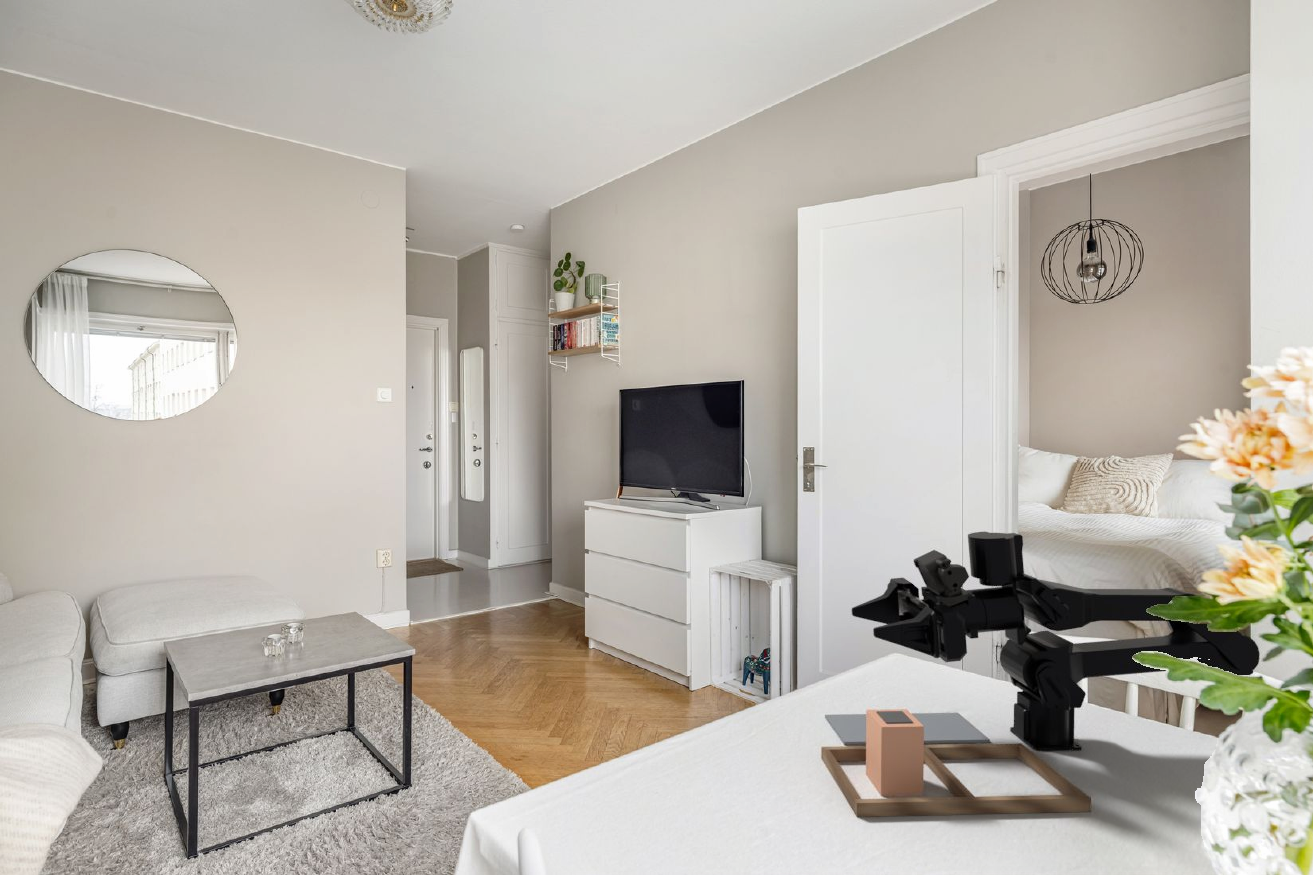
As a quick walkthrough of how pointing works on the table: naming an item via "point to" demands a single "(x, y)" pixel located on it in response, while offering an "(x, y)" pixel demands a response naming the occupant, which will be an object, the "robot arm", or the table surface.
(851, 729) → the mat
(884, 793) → the peach block
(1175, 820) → the table surface
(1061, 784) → the organizer
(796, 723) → the table surface
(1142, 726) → the table surface
